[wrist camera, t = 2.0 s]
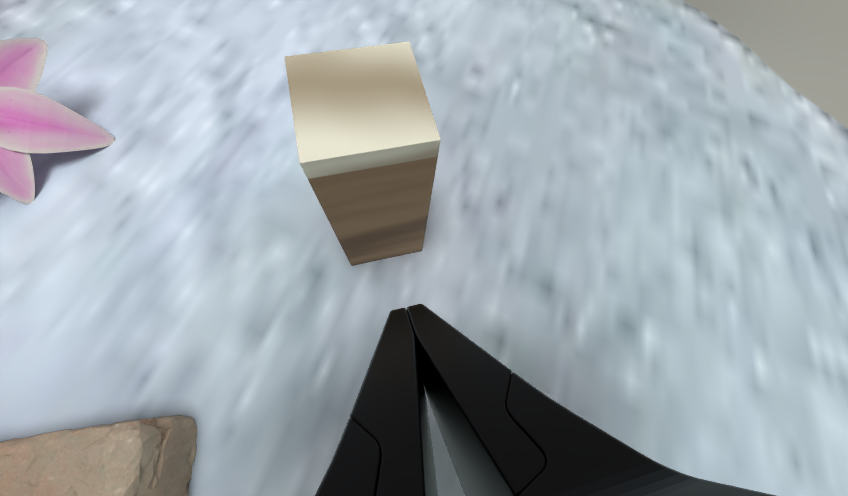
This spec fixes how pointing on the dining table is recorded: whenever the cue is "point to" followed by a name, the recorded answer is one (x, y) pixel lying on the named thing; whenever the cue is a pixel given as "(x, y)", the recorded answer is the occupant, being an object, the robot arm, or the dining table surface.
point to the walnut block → (366, 145)
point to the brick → (102, 460)
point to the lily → (34, 119)
